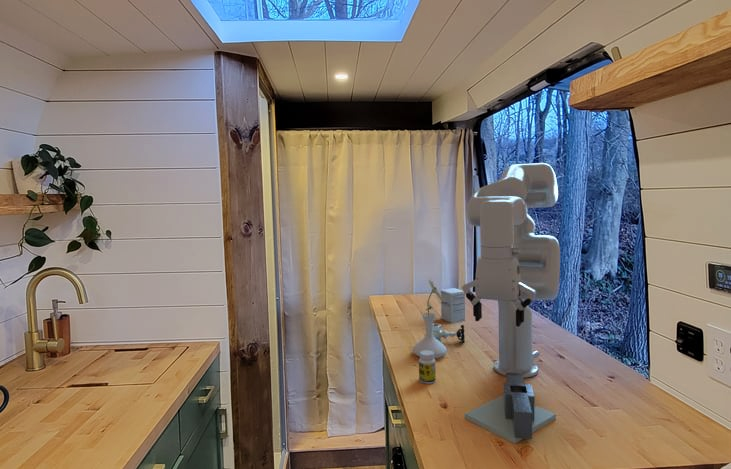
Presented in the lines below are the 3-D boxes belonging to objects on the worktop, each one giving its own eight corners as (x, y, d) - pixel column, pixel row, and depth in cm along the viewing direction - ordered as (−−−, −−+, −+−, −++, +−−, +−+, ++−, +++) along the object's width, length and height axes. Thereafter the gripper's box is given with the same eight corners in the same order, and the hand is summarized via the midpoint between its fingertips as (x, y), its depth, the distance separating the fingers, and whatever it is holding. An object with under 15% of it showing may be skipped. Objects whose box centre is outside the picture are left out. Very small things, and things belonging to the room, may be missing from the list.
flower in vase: (443, 363, 140) (441, 285, 138) (408, 359, 144) (406, 284, 142) (451, 349, 152) (449, 277, 150) (418, 345, 156) (416, 276, 154)
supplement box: (440, 319, 187) (440, 289, 186) (455, 316, 190) (454, 287, 189) (451, 323, 180) (450, 293, 179) (466, 320, 183) (465, 290, 182)
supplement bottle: (416, 381, 128) (415, 353, 127) (424, 375, 132) (423, 348, 131) (430, 385, 125) (429, 356, 124) (438, 379, 129) (438, 351, 128)
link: (502, 397, 114) (502, 375, 113) (528, 399, 112) (528, 376, 112) (507, 437, 96) (507, 410, 95) (539, 439, 94) (539, 413, 94)
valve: (430, 345, 156) (464, 346, 154) (429, 327, 156) (464, 328, 154) (430, 339, 163) (463, 340, 161) (429, 322, 162) (463, 322, 160)
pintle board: (512, 391, 119) (512, 369, 119) (565, 413, 107) (565, 388, 107) (461, 416, 107) (461, 392, 107) (514, 443, 95) (514, 416, 95)
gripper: (538, 251, 103) (539, 321, 105) (466, 248, 112) (468, 313, 114) (532, 257, 96) (532, 332, 99) (456, 253, 105) (458, 322, 108)
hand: (498, 322), depth 107 cm, fingers open, 9 cm apart
